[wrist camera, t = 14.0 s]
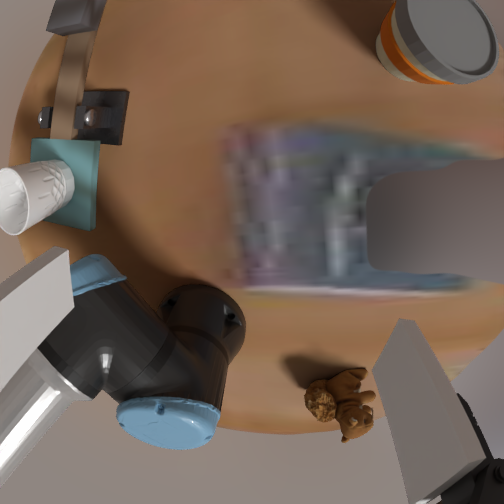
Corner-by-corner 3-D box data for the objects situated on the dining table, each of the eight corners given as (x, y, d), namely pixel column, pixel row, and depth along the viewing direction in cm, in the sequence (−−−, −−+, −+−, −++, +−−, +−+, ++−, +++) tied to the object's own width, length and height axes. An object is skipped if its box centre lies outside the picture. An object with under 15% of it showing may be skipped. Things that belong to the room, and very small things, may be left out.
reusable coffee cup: (436, 28, 28) (491, 1, 14) (441, 101, 33) (504, 96, 19) (360, 8, 29) (396, -39, 15) (364, 84, 34) (410, 63, 20)
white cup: (80, 211, 35) (33, 237, 26) (41, 210, 35) (-5, 233, 26) (77, 153, 32) (25, 165, 23) (37, 157, 32) (-13, 170, 23)
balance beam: (95, 227, 37) (73, 241, 32) (36, 214, 37) (14, 226, 32) (133, -7, 25) (114, -22, 20) (65, 6, 25) (43, -3, 19)
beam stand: (121, 144, 39) (92, 149, 31) (62, 140, 39) (29, 145, 31) (129, 92, 36) (101, 86, 28) (68, 92, 36) (35, 90, 28)
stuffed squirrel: (357, 400, 55) (368, 450, 43) (294, 397, 55) (296, 450, 43) (375, 368, 51) (392, 419, 39) (307, 363, 52) (312, 419, 39)
